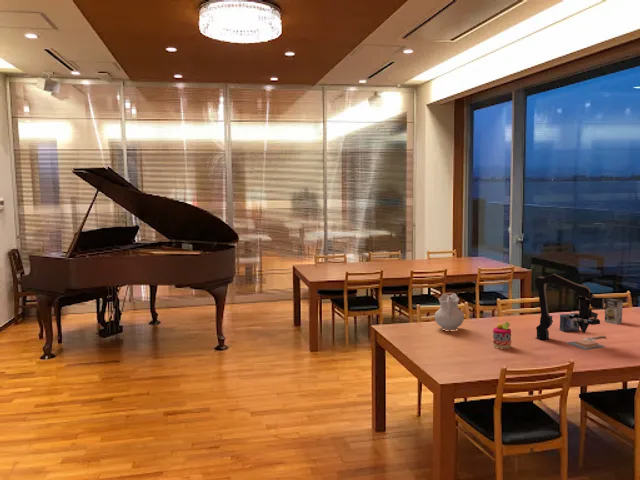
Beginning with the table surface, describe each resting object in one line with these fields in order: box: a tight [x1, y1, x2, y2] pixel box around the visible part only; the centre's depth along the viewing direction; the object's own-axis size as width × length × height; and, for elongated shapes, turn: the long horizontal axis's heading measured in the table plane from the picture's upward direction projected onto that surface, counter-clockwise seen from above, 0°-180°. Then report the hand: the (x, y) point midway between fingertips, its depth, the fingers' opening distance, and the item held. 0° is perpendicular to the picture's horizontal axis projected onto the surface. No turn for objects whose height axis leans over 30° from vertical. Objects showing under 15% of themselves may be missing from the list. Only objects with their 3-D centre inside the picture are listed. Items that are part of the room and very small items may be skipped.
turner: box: [583, 335, 607, 341], centre depth 330 cm, size 15×5×1 cm, turn 108°
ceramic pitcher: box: [434, 292, 465, 330], centre depth 360 cm, size 22×20×25 cm
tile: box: [575, 339, 599, 348], centre depth 317 cm, size 9×2×8 cm
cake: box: [492, 321, 512, 350], centre depth 320 cm, size 10×10×15 cm
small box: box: [559, 313, 580, 333], centre depth 351 cm, size 11×6×10 cm, turn 92°
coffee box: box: [604, 298, 624, 325], centre depth 368 cm, size 9×6×16 cm
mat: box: [565, 340, 607, 351], centre depth 318 cm, size 16×16×1 cm
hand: (583, 332), depth 318 cm, fingers closed
